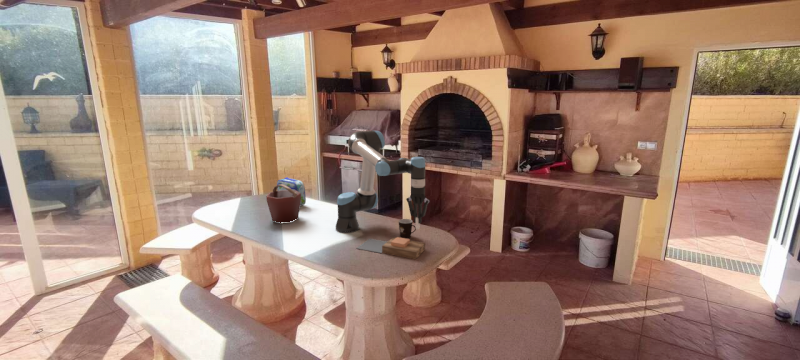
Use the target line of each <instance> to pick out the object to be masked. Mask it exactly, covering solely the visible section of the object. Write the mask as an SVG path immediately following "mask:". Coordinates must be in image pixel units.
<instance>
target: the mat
mask: <svg viewBox="0 0 800 360" xmlns="http://www.w3.org/2000/svg"><path fill="white" fill-rule="evenodd" d="M387 242H388V241H386V240H380V239H375V238H368V239H367V240H365V241H364V242H363V243H362V244H360V245H358V246H357V247H356V249H357V250H361V251H365V252H366V251H367V252H372V253H378V254H383V253H382V246H383V245H384V244H385V243H387ZM356 249H355V250H356Z"/></svg>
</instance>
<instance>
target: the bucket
mask: <svg viewBox="0 0 800 360" xmlns="http://www.w3.org/2000/svg"><path fill="white" fill-rule="evenodd" d="M279 186H282V187H284V188H285V189H287V190H280V191H277V188H278V187H279ZM300 202H301V193H299V192H298V191H296V190H292V189H291V188H289V187H288V186H286V185H283V184H280V185H277V184H276V185H275V186H273V188H272V191H270V192H269V193H268V194H267V195H266V203H267V207H268V210H269V213H270V216H271V220H272V222H273V221H276V222H280V223H281V222H290V221H293V220H295V219H297V218H298V219H299V216H300V215H299V214H300V207H301V206H300ZM298 219H297V220H298ZM295 221H296V220H295ZM280 223H279V224H280Z"/></svg>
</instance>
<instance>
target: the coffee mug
mask: <svg viewBox="0 0 800 360" xmlns="http://www.w3.org/2000/svg"><path fill="white" fill-rule="evenodd" d="M413 223H414V220H412V219H410V218H409V219H408V218H401V219H399V220H398V229H399V238H405V239H410V238H411V237H412V234H413V233H414V232H415V231H416V230H417V229H416V225H413ZM413 228H414V230H413V231H412V229H413Z"/></svg>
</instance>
